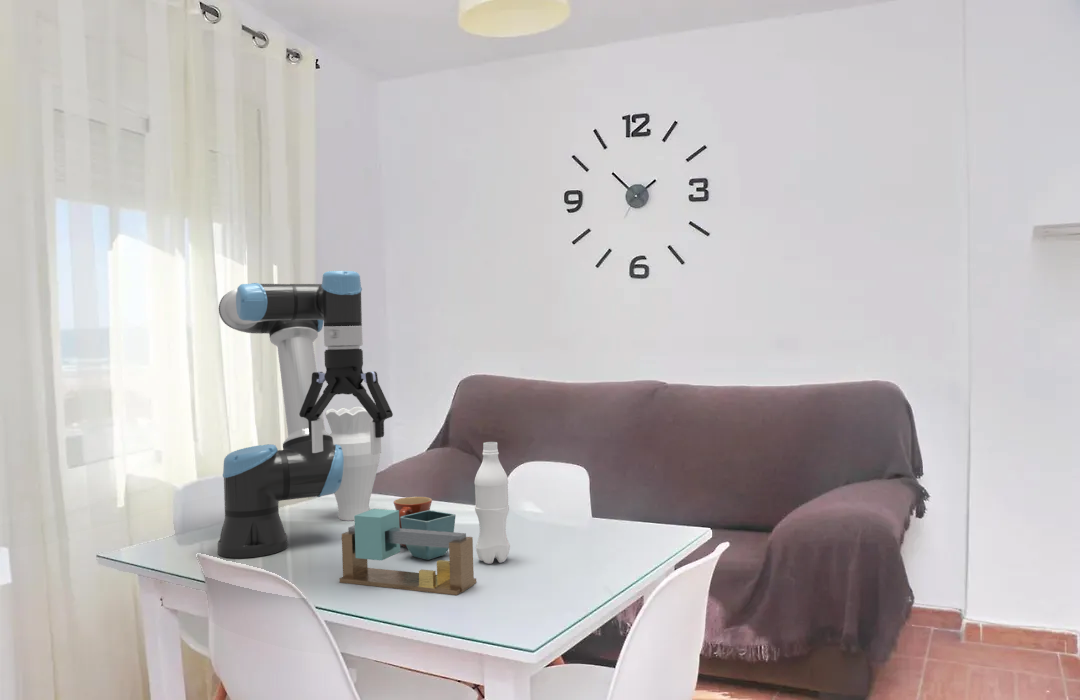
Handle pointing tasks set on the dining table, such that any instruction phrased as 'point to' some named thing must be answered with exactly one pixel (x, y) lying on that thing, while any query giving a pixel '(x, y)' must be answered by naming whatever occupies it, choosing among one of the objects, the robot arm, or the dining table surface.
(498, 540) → the water bottle
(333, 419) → the vase
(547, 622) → the dining table surface
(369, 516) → the block
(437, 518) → the flower pot
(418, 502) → the mug
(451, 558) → the rail
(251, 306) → the robot arm
